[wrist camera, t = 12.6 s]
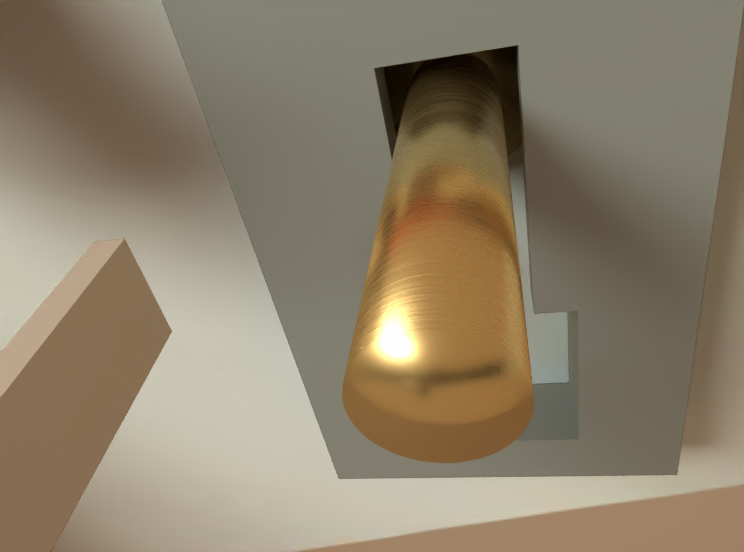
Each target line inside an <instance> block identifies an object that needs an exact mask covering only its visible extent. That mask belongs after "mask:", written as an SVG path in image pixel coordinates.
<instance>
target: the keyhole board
mask: <svg viewBox="0 0 744 552" xmlns="http://www.w3.org/2000/svg"><path fill="white" fill-rule="evenodd" d="M162 2H163V5H164V8H165V11H166V13H167V16H168V19H169V21H170V24H171V27H172V30H173V32H174V35H175V38H176V40H177V43H178V46H179V48H180V51H181V54H182V57H183V59H184V62H185V65H186V67H187V70H188V73H189V75H190V78H191V81H192V84H193V86H194V89H195V92H196V94H197V97H198V100H199V102H200V105H201V108H202V111H203V113H204V116H205V119H206V121H207V124H208V127H209V129H210V132H211V135H212V138H213V140H214V143H215V146H216V148H217V151H218V154H219V157H220V159H221V162H222V165H223V167H224V170H225V173H226V175H227V178H228V181H229V184H230V186H231V189H232V192H233V194H234V197H235V200H236V202H237V205H238V208H239V211H240V213H241V216H242V219H243V221H244V224H245V227H246V229H247V232H248V235H249V238H250V240H251V243H252V246H253V248H254V251H255V254H256V257H257V259H258V262H259V265H260V267H261V270H262V273H263V275H264V278H265V281H266V284H267V286H268V289H269V292H270V294H271V297H272V300H273V302H274V305H275V308H276V311H277V313H278V316H279V319H280V321H281V324H282V327H283V329H284V332H285V335H286V338H287V340H288V343H289V346H290V348H291V351H292V354H293V356H294V359H295V362H296V365H297V367H298V370H299V373H300V375H301V378H302V381H303V384H304V386H305V389H306V392H307V394H308V397H309V400H310V402H311V405H312V408H313V411H314V413H315V416H316V419H317V421H318V424H319V427H320V429H321V432H322V435H323V438H324V440H325V443H326V446H327V448H328V451H329V454H330V456H331V459H332V462H333V465H334V467H335V470H336V473H337V475H338V478H339V479H368V478H453V477H539V476H625V475H677V472H678V465H679V458H680V451H681V444H682V437H683V430H684V423H685V416H686V409H687V402H688V395H689V388H690V381H691V374H692V367H693V360H694V353H695V346H696V339H697V332H698V325H699V318H700V311H701V304H702V297H703V290H704V283H705V276H706V269H707V261H708V254H709V247H710V240H711V233H712V226H713V219H714V212H715V205H716V198H717V191H718V184H719V177H720V170H721V163H722V156H723V149H724V142H725V135H726V128H727V121H728V114H729V107H730V100H731V93H732V86H733V79H734V72H735V65H736V58H737V51H738V44H739V37H740V30H741V23H742V16H743V9H744V0H162ZM510 46H516V54H517V70H518V87H519V103H520V119H521V136H522V152H523V168H524V185H525V201H526V218H527V234H528V250H529V267H530V283H531V293H532V301H533V308H534V314H539V313H554V312H568V355H569V383H556V384H533V394H534V410H533V414H532V418H531V420H530V422H529V425H528V426H527V428H526V429H525V431H524V432H523V433H522V434H521V435H520V436H519V437H518V439H517V440H515V441H514V442H513V443H512V444H510V445H509V446H507V447H506V448H504V449H502V450H501V451H499V452H496V453H494V454H492V455H489V456H486V457H483V458H480V459H476V460H472V461H466V462H459V463H433V462H424V461H419V460H413V459H410V458H406V457H402V456H400V455H397V454H394V453H392V452H390V451H387V450H385V449H383V448H381V447H380V446H378V445H376V444H375V443H373V442H372V441H370V440H369V439H368V438H366V437H365V436H364V435H363V434H362V433H361V432H360V431H359V430H358V429H357V428H356V427H355V426H354V424H353V423H352V422H351V420H350V418H349V417H348V415H347V413H346V410H345V408H344V405H343V400H342V386H343V380H344V376H345V371H346V366H347V362H348V357H349V353H350V348H351V344H352V339H353V335H354V330H355V326H356V321H357V317H358V312H359V308H360V303H361V299H362V294H363V289H364V285H365V280H366V276H367V271H368V267H369V262H370V258H371V253H372V249H373V244H374V240H375V235H376V231H377V226H378V222H379V217H380V213H381V208H382V203H383V199H384V194H385V190H386V185H387V181H388V176H389V172H390V167H391V163H392V158H393V154H394V149H395V145H396V140H397V137H396V132H395V126H394V121H393V116H392V110H391V105H390V99H389V94H388V89H387V83H386V78H385V73H384V67H385V66H391V65H397V64H403V63H410V62H416V61H422V60H428V59H435V58H441V57H447V56H453V55H460V54H466V53H472V52H478V51H485V50H491V49H497V48H503V47H510Z"/></svg>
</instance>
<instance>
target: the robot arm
mask: <svg viewBox="0 0 744 552" xmlns="http://www.w3.org/2000/svg"><path fill="white" fill-rule="evenodd" d="M171 332H172V331H171V329H170V327H169V325H168V323H167V321H166V319H165V317H164V315H163V313H162V311H161V309H160V307H159V305H158V303H157V301H156V299H155V297H154V295H153V293H152V291H151V289H150V287H149V285H148V283H147V281H146V279H145V278H144V276H143V274H142V272H141V270H140V268H139V266H138V264H137V262H136V260H135V258H134V256H133V254H132V252H131V250H130V248H129V246H128V244H127V242H126V240H125V239H116V240H108V241H99V242H94V243H93V244H92V245H91V246H90V247H89V249H88V250H87V251H86V252H85V253H84V255H83V256H82V257H81V258H80V259H79V261H78V262H77V263H76V264H75V265H74V266H73V268H72V269H71V270H70V271H69V272H68V274H67V275H66V276H65V277H64V278H63V279H62V281H61V282H60V283H59V284H58V285H57V287H56V288H55V289H54V290H53V291H52V292H51V294H50V295H49V296H48V297H47V298H46V300H45V301H44V302H43V303H42V304H41V305H40V307H39V308H38V309H37V310H36V311H35V313H34V314H33V315H32V316H31V317H30V318H29V320H28V321H27V322H26V323H25V324H24V326H23V327H22V328H21V329H20V330H19V331H18V333H17V334H16V335H15V336H14V337H13V339H12V340H11V341H10V342H9V343H8V344H7V346H6V347H5V348H4V349H3V350H2V352H1V353H0V552H51V550H52V549H53V547H54V545H55V543H56V541H57V540H58V538H59V536H60V534H61V532H62V530H63V529H64V527H65V525H66V523H67V521H68V520H69V518H70V516H71V514H72V512H73V510H74V509H75V507H76V505H77V503H78V501H79V500H80V498H81V496H82V494H83V492H84V490H85V489H86V487H87V485H88V483H89V481H90V480H91V478H92V476H93V474H94V472H95V470H96V469H97V467H98V465H99V463H100V461H101V460H102V458H103V456H104V454H105V452H106V450H107V449H108V447H109V445H110V443H111V441H112V440H113V438H114V436H115V434H116V432H117V430H118V429H119V427H120V425H121V423H122V421H123V420H124V418H125V416H126V414H127V412H128V410H129V409H130V407H131V405H132V403H133V401H134V400H135V398H136V396H137V394H138V392H139V390H140V389H141V387H142V385H143V383H144V381H145V379H146V378H147V376H148V374H149V372H150V370H151V369H152V367H153V365H154V363H155V361H156V359H157V358H158V356H159V354H160V352H161V350H162V349H163V347H164V345H165V343H166V341H167V339H168V338H169V336H170V334H171Z"/></svg>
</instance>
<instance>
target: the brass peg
mask: <svg viewBox="0 0 744 552" xmlns="http://www.w3.org/2000/svg"><path fill="white" fill-rule="evenodd" d="M384 73H385V78H386V83H387V89H388V94H389V99H390V105H391V110H392V116H393V121H394V126H395V132H396V137H397V140H396V145H395V149H394V154H393V158H392V163H391V167H390V172H389V176H388V181H387V185H386V190H385V194H384V199H383V203H382V208H381V213H380V217H379V222H378V226H377V231H376V235H375V240H374V244H373V249H372V253H371V258H370V262H369V267H368V271H367V276H366V280H365V285H364V289H363V294H362V299H361V303H360V308H359V312H358V317H357V321H356V326H355V330H354V335H353V339H352V344H351V348H350V353H349V357H348V362H347V366H346V371H345V376H344V380H343V386H342V400H343V405H344V408H345V410H346V413H347V415H348V417H349V418H350V420H351V422H352V423H353V424H354V426H355V427H356V428H357V429H358V430H359V431H360V432H361V433H362V434H363V435H364V436H365V437H366V438H368V439H369V440H370V441H372V442H373V443H375V444H376V445H378V446H380V447H381V448H383V449H385V450H387V451H390V452H392V453H394V454H397V455H400V456H402V457H406V458H410V459H413V460H419V461H424V462H433V463H459V462H466V461H472V460H476V459H480V458H483V457H486V456H489V455H492V454H494V453H496V452H499V451H501V450H502V449H504V448H506V447H507V446H509V445H510V444H512V443H513V442H514V441H515V440H517V439H518V437H519V436H520V435H521V434H522V433H523V432H524V431H525V429H526V428H527V426H528V425H529V422H530V420H531V418H532V414H533V410H534V394H533V385H532V376H531V367H530V358H529V349H528V339H527V330H526V321H525V312H524V303H523V294H522V285H521V276H520V267H519V258H518V249H517V240H516V230H515V221H514V212H513V203H512V194H511V185H510V176H509V167H508V158H507V157H508V156H509V155H511V154H512V153H513V152H514V151H515V150H516V149H517V148H518V147H519V146H520V145H521V144H522V136H521V119H520V103H519V87H518V70H517V54H516V46H510V47H503V48H497V49H491V50H485V51H478V52H472V53H466V54H460V55H453V56H447V57H441V58H435V59H428V60H422V61H416V62H410V63H403V64H397V65H391V66H385V67H384Z"/></svg>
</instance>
